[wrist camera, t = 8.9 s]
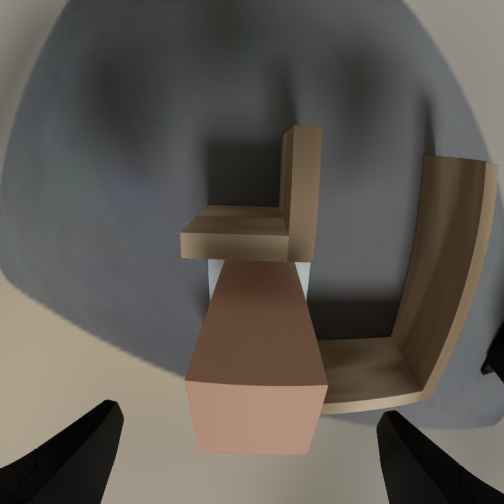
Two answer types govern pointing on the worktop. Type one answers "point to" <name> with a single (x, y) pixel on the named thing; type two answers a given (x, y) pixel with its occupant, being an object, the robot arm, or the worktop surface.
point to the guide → (417, 282)
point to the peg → (256, 364)
